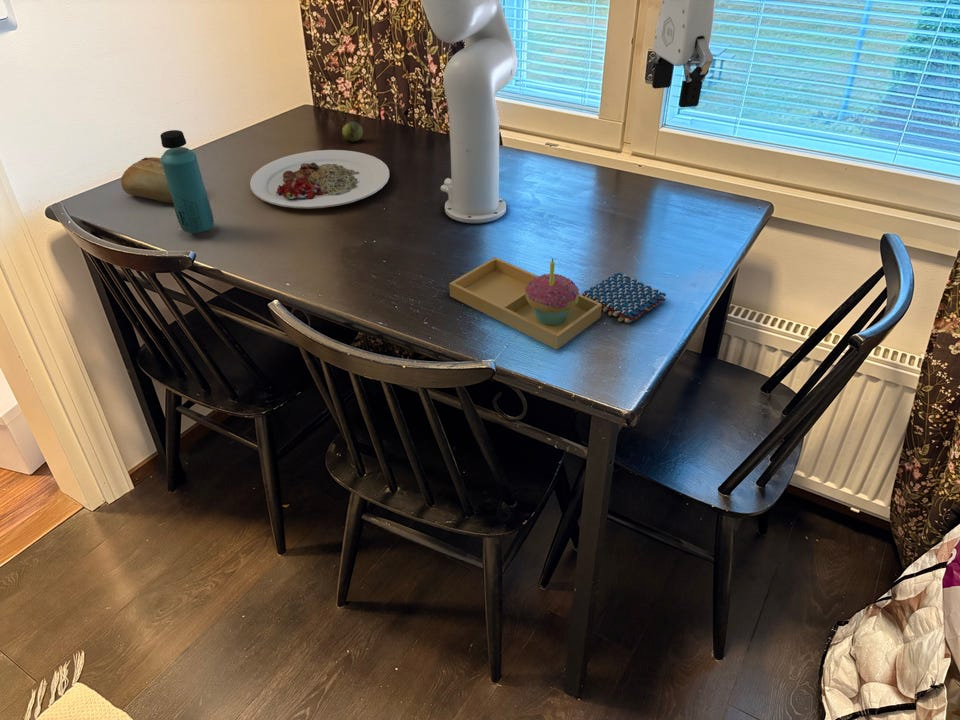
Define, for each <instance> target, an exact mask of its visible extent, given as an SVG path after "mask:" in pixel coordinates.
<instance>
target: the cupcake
mask: <svg viewBox="0 0 960 720" xmlns="http://www.w3.org/2000/svg"><path fill="white" fill-rule="evenodd" d="M555 263H556V262H555V261H554V258H553V257H552V258H551V261H550V263H549V273H548V274H547V273H544V274H542V275H538V276H539V277H537V278H534V279H533V280H531V282H529V283H528V285H527V287H526V289H525V297H526V299H527V301H528V303H529V304H530V305H531V306H532V307H533V308H534V311H535V314H536V318H537V320H538V321H539V322H541V323H542V324H545V325H559V324H561V323H563V322H564V321H565V319H566V317H567V315H568V313H569V311H570V309H571V308H572V307H574V306H575V305H576V304H577V302H578V296H579V295H578V294H580V290H579V288H578V286H577V285H576V283H575V282H574V281H573V280H572V279H571V278H569V277H566V276H564V275H562V274H558V273H555V265H556V264H555Z"/></svg>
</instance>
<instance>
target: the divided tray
mask: <svg viewBox="0 0 960 720" xmlns="http://www.w3.org/2000/svg"><path fill="white" fill-rule="evenodd" d="M539 276H540V275H537V274H535V273H532V272H531V271H528V270H526V269H524V268H521V267H519V266H517V265H515V264H512V263H510V262H508V261H505V260H503V259H501V258H498V257H496V256H494V257H492V258H491V259H489V260H487V261H486V262H484V263H482V264H481V265H479V266H477V267H475V268H474V269H472V270H470V271H468V272H466V273H464V274H463V275H461V276H460V277H458V278H456V279H454V280H452V281H451V282H449V297H450V298H452V299H454V300H457V301H459V302H460V303H463V304H465V305H467V306H469V307H471V308H473V309H474V310H477V311H478V312H480V313H483V314H484V315H486V316H489V317H491V318H492V319H494V320H497V321H499V322H500V323H503V324H505V325H506V326H509V327H510V328H512V329H515V330H517V331H519V332H521V333H522V334H524V335H526V336H528V337H530V338H532V339H535V340H537V341H538V342H540V343H543V344H545V345H546V346H548V347H551V348H552V349H554V350H556V351H557V350H559V349H560V348H562V347H563V346H564V345H566V344H567V343H569V342H570V341H571V340H572V339H573V338H575V337H576V336H578V335H579V334H580V333H582V332H583V331H584V330H586V329H587V328H588V327H589V326H591V325H593V324H594V323H595V322H597V321H598V320H599V319H600V318H602V317H601V316H602V310H603V308H602V304H601V303H598V302H596V301H594V300H591V299H589V298H587V297H585V296H582V294H580V293H579V294H578V295H579V296H578V302H577V304H576V305H575V306H574V307H572V308H571V309H570V311H569V313H568V315H567V317H566V319H565V321H564V322H563V323H561V324H559V325H545V324H542V323H541V322H539V321H538V320H537V318H536V314H535V311H534V308H533V307H532V306H531V305H530V304H529V303H528V301H527V299H526V297H525V289H526V287H527V285H528V283H529V282H531V280H533V279H534V278H537V277H539Z"/></svg>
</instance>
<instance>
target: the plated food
mask: <svg viewBox="0 0 960 720" xmlns="http://www.w3.org/2000/svg"><path fill="white" fill-rule="evenodd" d="M389 179H390V169H389V167H388V165H387V164H386V163H385V162H384V161H382V160H381V159H379V158H377V157H376V156H373V155H370V154H367V153H363V152H359V151H354V150H344V149H324V150H323V149H321V150H320V149H319V150H311V151H303V152H299V153H294V154H291V155H287V156H283V157H280V158H277V159H275V160H273V161H272V160H271V161H270V162H269V163H267V164H264V165H263V166H261V167H260V168H259V169H257V170H256V171H255V172H254V173H253V175H252V176H251V178H250V182H249V185H250V191H251V192H252V194H253V195H254V196H256V197H257V198H258V199H260V200H261V201H263V202H266V203H268V204H270V205H275V206H279V207H284V208H292V209H324V208H325V209H326V208H331V207H338V206H343V205H347V204H351V203H354V202H358V201H361V200H364V199H365V198H368V197H370V196H372V195H374V194H376V193H377V192H379V191H380V190H382V189H383V187H384V186H385V185H386V184H387V183H388V182H389Z"/></svg>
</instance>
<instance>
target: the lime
mask: <svg viewBox="0 0 960 720" xmlns="http://www.w3.org/2000/svg"><path fill="white" fill-rule="evenodd" d="M363 133H364V130H363V127H362V125H361V124H360V123H358V122H355V121H349V122H347V123H345V125H344V126H343V127H342V130H341V134H342V137H343V138H344V139H345V140H346V141H348V142H350V143H355V142H358V141H359V140H361V139H362V137H363Z"/></svg>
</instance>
